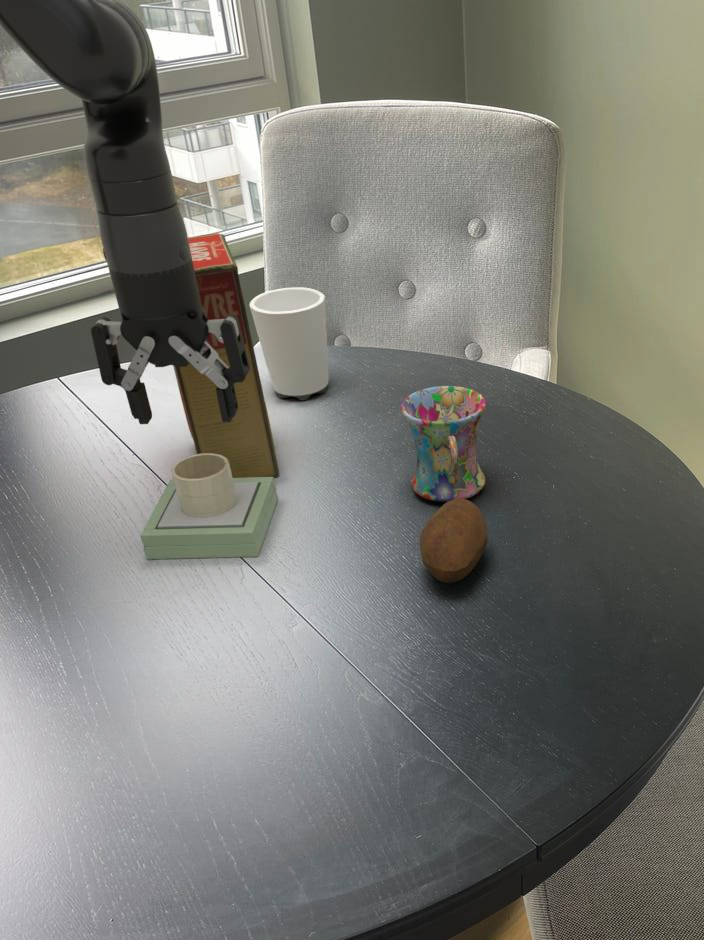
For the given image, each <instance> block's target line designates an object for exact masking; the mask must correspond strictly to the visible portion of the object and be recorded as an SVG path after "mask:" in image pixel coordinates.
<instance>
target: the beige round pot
mask: <svg viewBox="0 0 704 940" xmlns="http://www.w3.org/2000/svg"><path fill="white" fill-rule="evenodd" d="M170 472H171V476H172V477H171V478H172V480H173V481H174V484H175V488H176V492H177V496H178V499H179V503H180V506H181V510H182V511H183V512H184V513H185V514H186V515H189V516H192V517H201V518H203V517H212V516H216V515H219V514H222V513H224V512H226V511H228V510H230V509H231V508H232V507H233V506H234V505H235V504H236V501H237V497H236V491H235V487H234V482H233V478H232V473H231V469H230V464H229V461H228V459H227V458H226V457H224V456H222V455H219V454H214V453H202V454H197V453H196V454H192V455H189V456H186V457H184V458H181V459H180V460H178V461H177V462H176V463H174V464H173V465H172V467H171V469H170Z"/></svg>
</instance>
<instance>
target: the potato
mask: <svg viewBox="0 0 704 940" xmlns="http://www.w3.org/2000/svg"><path fill="white" fill-rule="evenodd" d="M487 543H488V527H487V522H486V520H485V517H484V515H483V513H482V511H481V509H480V508H479V507H478V506H477V505H476V504H475V503H473V502H472V501H471V500H469V499H463V498H462V499H453V500H451V501H448V502H444V504H443V505H441V507H439V508H438V510H436V511H435V512H434V513H433V514H432V515H431V517H430V518H429V520H428V521H427V523H426V524H425V525H424V527H423V528H422V530H421V532H420V536H419V550H420V554H421V559H422V563H423V565H424V567H425V568H426V570H427V571H428V572H429V573H430V575H431V576H433V577H434V578H435V579H437V580H438V581H440V582H441V583H442V582H443V583H446V584H449V583H455V582H459V581H461V580H463V579H464V578H466V577H467V576H468V575H469V574H470V573H471V572H472V570H473V569H474V568H475V566H476V565H477V564H478V563H479V561H480V559H481V558H482V555H483V554H484V551H485V548H486V547H487Z"/></svg>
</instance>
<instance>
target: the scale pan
mask: <svg viewBox="0 0 704 940" xmlns="http://www.w3.org/2000/svg"><path fill="white" fill-rule="evenodd" d="M234 487H235V491H236V497H237V501H236V504H235V505H234V506H233V507H232V508H231V509H230V510H228V511H226V512H224V513H222V514H219V515H216V516H212V517H203V518H201V517H192V516H189V515H186V514H185V513H184V512H183V511H182V510H181V506H180V503H179V499H178V496H177V492H175V493H174V495H173V497H172V499H171V501H170V503H169V505H168V507H167V509H166V511H165V513H164V515H163V517H162V519H161V521H160V523H159V524H158V529H192V528H231V527H244V525H245V523H246V520H247V518H248V515H249V512H250V510H251V507H252V505H253V502H254V499H255V497H256V494H257V492H258V489H259V485H258V482H247V483H234Z"/></svg>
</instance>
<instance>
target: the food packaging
mask: <svg viewBox="0 0 704 940" xmlns="http://www.w3.org/2000/svg"><path fill="white" fill-rule="evenodd" d="M187 237H188V241H189V246H190V251H191V256H192V261H193V266H194V271H195V275H196V280H197V285H198V290H199V295H200V299H201V305H202V310H203V312H204V314H205V316H206V317H207V318H208V320H214V319H225V318H226V317H227V315H229V314H234V315H236V316H237V318H238V321H239V325H240V329H241V333H242V337H243V341H244V345H245V349H246V353H247V357H248V361H249V365H250V370H249V372H248V374H247V376H246V378H245V380H244V381H243V382H237V383H234V387H235V392H236V398H237V402H238V410H237V412H236V414H235V416H234V417H233V418H232V420H231V422H225V423H223V421H222V417H221V413H220V408H219V403H218V398H217V393H216V388H217V386H216V385H215V384H214V383H213V382H212V381H211V380H210V379H209V378H208V377H207V376H206V375H205V374H201V373H200V372H199V371H198V370H197V369H196V368H195V367H194V366H193V365H192V364H188V366H187V367H178V366H173V365H172V367H173V371H174V374H175V379H176V383H177V388H178V391H179V395H180V399H181V403H182V407H183V412H184V415H185V420H186V423H187V426H188V430H189V432H190V436H191V438H192V441H193V445H194V448H195V452H196V454H202V453H214V454H219V455H222V456H224V457H226V458H227V459H228V461H229V464H230V469H231V473H232V478H249V477H273V478H274V479H275V478H277V477H279V476H280V469H279V464H278V459H277V454H276V448H275V442H274V437H273V431H272V427H271V422H270V417H269V411H268V407H267V404H266V399H265V395H264V391H263V386H262V382H261V376H260V372H259V366H258V362H257V356H256V353H255V347H254V343H253V338H252V334H251V329H250V323H249V319H248V314H247V309H246V304H245V300H244V295H243V290H242V285H241V282H240V277H239V267H238V266H237V265H238V264H237V263H236V260H235V259H234V256H233V254H232V252H231V249H230V247H229V245H228V242H227V239H226V236H225V234H223V233H219V232H217V233H208V234H200V235H195V236H187ZM206 342H207V343H208V344H209V345H210V346H211V347H212V348H213V349H214V350H215V351H216V352H217V353H218V356H219V358H220V359H221V360H222V361H223V362H224V363H225V364H226V365H227V366H228V367H229V368H230V365H229V361H228V357H227V353H226V349H225V345H224V343H221V342H219V341H218V339H217V337H216V336H215V335H214V334H213V333H209V335H208V337H207V339H206Z"/></svg>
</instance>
